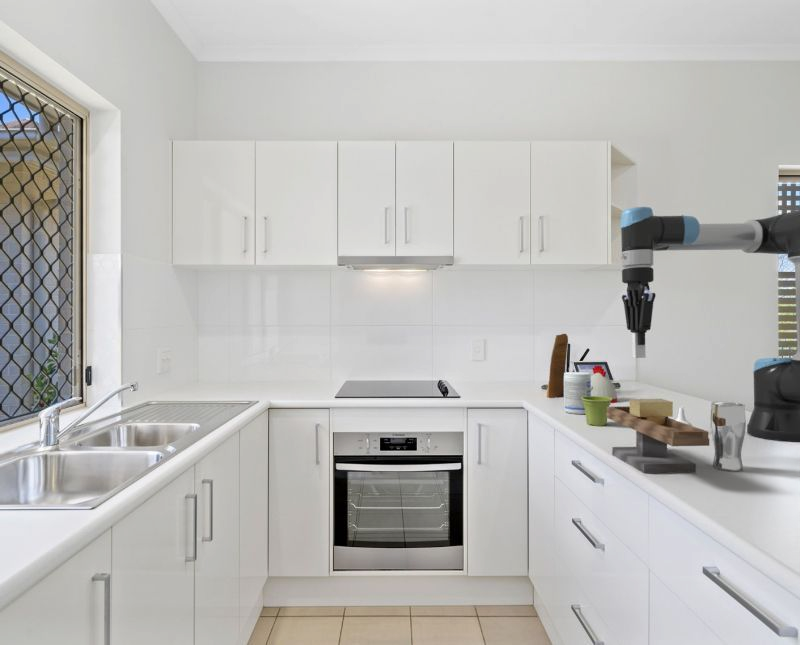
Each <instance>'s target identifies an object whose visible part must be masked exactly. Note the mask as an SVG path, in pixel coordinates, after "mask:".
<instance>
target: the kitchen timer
mask: <svg viewBox="0 0 800 645" xmlns="http://www.w3.org/2000/svg"><path fill="white" fill-rule="evenodd" d="M592 371H593V372H592V373H593V374H592V375H590V377H591V396H601V397H608V398H611V399H612V401H611V402H610V404H613V403H617V402H618V394H617V391H616V385H615V384H614V383H613V382H612V379H610V378H609V376H608V375H607V371H605V368H603V367H602V365H599V364H598V365H594V367H592Z"/></svg>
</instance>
